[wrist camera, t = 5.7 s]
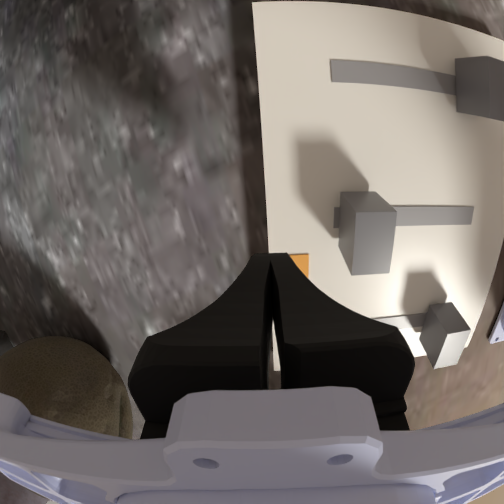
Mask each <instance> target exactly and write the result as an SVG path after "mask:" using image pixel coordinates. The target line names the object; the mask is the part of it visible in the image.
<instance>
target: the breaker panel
mask: <svg viewBox="0 0 504 504" xmlns="http://www.w3.org/2000/svg"><path fill="white" fill-rule="evenodd" d="M252 8H253V20H254V32H255V45H256V58H257V71H258V85H259V98H260V113H261V128H262V143H263V158H264V175H265V191H266V209H267V227H268V246H269V253H285V252H287V253H288V254H289V255H290V257H291V258H292V260H293V261H294V263H295V264H296V265H297V266H298V268H299V269H300V270H301V271H302V272H303V273H304V275H305V276H306V277H307V278H308V279H309V280H310V281H311V282H312V283H313V284H314V285H315V286H316V287H317V288H318V289H320V290H321V291H322V292H324V293H325V294H326V295H328V296H329V297H330V298H332V299H333V300H335V301H336V302H338V303H340V304H341V305H343V306H345V307H347V308H349V309H350V310H352V311H355V312H357V313H359V314H361V315H363V316H366V317H368V318H371V319H373V320H376V321H380V322H383V323H386V324H389V325H393V326H396V327H398V329H399V331H400V332H401V334H402V335H403V337H404V338H405V340H406V342H407V343H408V345H409V347H410V350H411V352H412V354H413V356H414V357H417V356H423V355H427V354H426V352H425V350H424V348H423V346H422V344H421V342H420V340H419V337H420V334H421V331H422V327H423V324H424V321H425V317H426V314H427V310H428V307H429V305H431V304H439V303H447V302H452V303H453V304H454V306H455V307H456V309H457V310H458V311H459V313H460V314H461V316H462V317H463V318H464V320H465V321H466V323H467V324H468V326H469V327H470V329H471V332H470V334H469V337H468V339H467V342H466V344H465V346H464V347H468V344H469V342H470V340H471V337H472V335H473V332H474V330H475V328H476V325H477V322H478V320H479V317H480V315H481V312H482V309H483V306H484V303H485V301H486V298H487V295H488V292H489V289H490V286H491V282H492V279H493V276H494V273H495V269H496V266H497V262H498V258H499V255H500V251H501V247H502V243H503V239H504V122H503V121H499V120H495V119H490V118H485V117H480V116H475V115H470V114H464V113H459V112H456V73H455V58H465V57H476V56H490V57H493V58H496V59H499V60H502V61H504V41H502V40H500V39H497V38H495V37H492V36H489V35H487V34H484V33H481V32H478V31H475V30H472V29H469V28H466V27H463V26H460V25H457V24H453V23H450V22H446V21H442V20H439V19H435V18H431V17H427V16H422V15H418V14H413V13H408V12H403V11H398V10H392V9H386V8H380V7H373V6H365V5H356V4H346V3H334V2H315V1H269V2H252ZM361 191H376V192H377V193H378V194H379V195H380V196H381V197H382V198H383V199H384V200H385V201H386V202H388V203H389V204H390V205H391V206H392V207H393V208H394V209H395V210H396V211H397V219H396V228H395V236H394V244H393V252H392V259H391V266H390V272H389V273H385V274H370V275H354V276H351V274H350V272H349V269H348V267H347V265H346V263H345V260H344V258H343V256H342V254H341V251H340V249H339V247H338V241H339V219H340V192H361ZM272 332H273V357H274V371H280V362H279V355H278V349H277V342H276V336H275V329H274V322H273V326H272Z"/></svg>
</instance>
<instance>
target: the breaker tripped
mask: <svg viewBox="0 0 504 504" xmlns="http://www.w3.org/2000/svg"><path fill="white" fill-rule="evenodd" d="M396 219H397V211H396V210H395V209H394V208H393V207H392V206H391V205H390V204H389V203H388V202H386V201H385V200H384V199H383V198H382V197H381V196H380V195H379V194H378V193H377V192H376V191H361V192H340V219H339V241H338V247H339V249H340V251H341V254H342V256H343V258H344V260H345V263H346V265H347V267H348V269H349V272H350V274H351V276H354V275H370V274H385V273H389V272H390V266H391V259H392V252H393V244H394V236H395V228H396Z"/></svg>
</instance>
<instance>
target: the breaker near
mask: <svg viewBox="0 0 504 504" xmlns="http://www.w3.org/2000/svg"><path fill="white" fill-rule="evenodd" d="M455 73H456V112H459V113H464V114H470V115H475V116H480V117H485V118H490V119H495V120H499V121H503V122H504V61H502V60H499V59H496V58H493V57H490V56H476V57H465V58H455Z"/></svg>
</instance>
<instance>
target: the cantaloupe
mask: <svg viewBox="0 0 504 504" xmlns="http://www.w3.org/2000/svg"><path fill="white" fill-rule="evenodd" d="M0 393H3V394H6V395H8V396H11V397H14V398H16V399H18V400H19V401H21V402H22V403H23V404H24V405H25V406H26V408H27V409H28V410H29V412H30V414H31V415H34V416H37V417H40V418H43V419H46V420H50V421H53V422H56V423H60V424H64V425H67V426H71V427H75V428H79V429H83V430H87V431H92V432H96V433H101V434H106V435H111V436H116V437H121V438H127V439H132V432H133V419H132V410H131V404H130V400H129V397H128V393H127V390H126V387H125V385H124V382H123V380H122V378H121V377H120V375H119V374H118V373H117V371H116V370H115V369H114V367H113V366H112V365H111V364H110V362H109V361H108V360H107V359H106V358H105V357H104V356H103V355H102V354H100V353H99V352H98V351H97V350H96V349H94V348H93V347H92V346H90V345H89V344H87V343H85V342H83V341H80V340H77V339H74V338H70V337H64V336H45V337H39V338H35V339H31V340H28V341H26V342H24V343H21V344H19V345H17V346H15V347H14V348H12V349H10V350H8V351H7V352H5V353H4V354H3V355H1V356H0ZM23 487H24V486H23ZM25 488H26V487H25ZM26 489H28V488H26ZM28 490H29V491H31V492H33V493H35V494H37V495H39V496H41V497H43V498H46V497H44V496H42V495H40V494H38V493H36V492H34V491H32V490H30V489H28ZM47 499H48V498H47Z"/></svg>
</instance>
